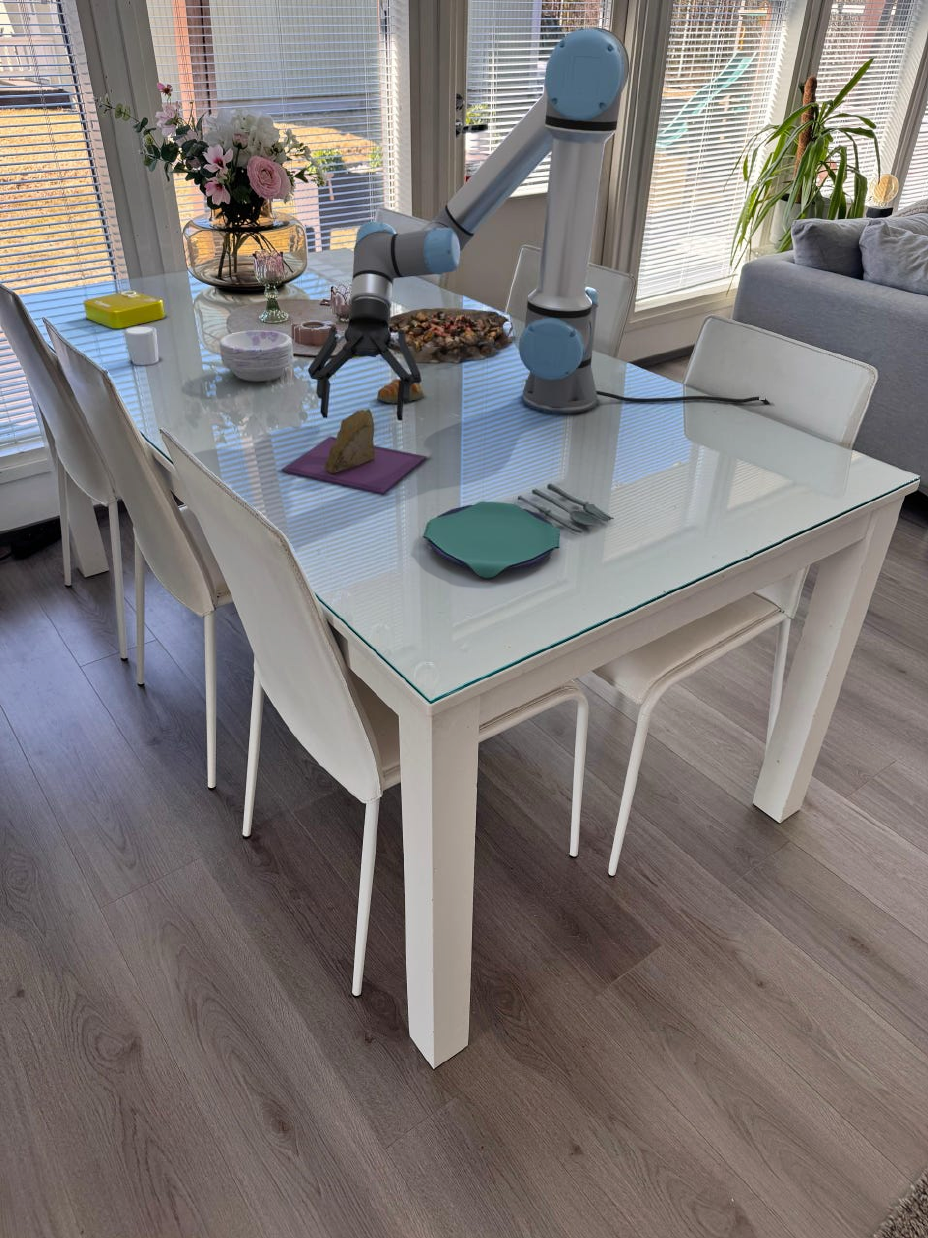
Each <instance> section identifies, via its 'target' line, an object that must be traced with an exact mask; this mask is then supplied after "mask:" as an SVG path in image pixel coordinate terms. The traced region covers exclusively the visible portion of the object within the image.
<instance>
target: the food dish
mask: <svg viewBox="0 0 928 1238" xmlns="http://www.w3.org/2000/svg"><path fill="white" fill-rule="evenodd" d="M507 322H508V323H510V325H511V327H510V328H509V331H508V332H507V334H506V331H505V329H504V325H505V324H506V323H507ZM400 329H403V330H404V331H405V335H406V343H407V345H408V348H409V350H410V352H411V354H412V356H413V359H414V361H415V363H431V364H432V363H433V364H434V363H440V362H447V363H448V362H449V363H461V362H464V361H465V362H466V361H480V360H483V359H485V358H491V357H493V356H494V355H497V353H498V352H499V351H500V350H502V349H505V348H507V347H508V346H509V344H511V343H513V340H514V336H511V337H509V336H510V335H511V334H512V332H513V329H514V324H513V323H512V322H511V321H510V320H509V318H507V317H506V316H505V315H502V314H499V313H498V312H497V311H493V310H482V309H481V310H480V309H478V310H477V309H471V308H459V307H450V308H445V307H437V308H436V307H435V308H420V309H413V310H409V311H407V312H402V313H398V314H394V315H392V316H390V329H389V331H390V333H396V332H398V331H399V330H400ZM387 347H388V348H389V349H391V350H393V351H395V352H396V353H398V354H402V352H401V348H400V345H399V346H398V345H396V344H395V341H393V340H391V342H390V343H389V344H388V345H387Z"/></svg>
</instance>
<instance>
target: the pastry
mask: <svg viewBox="0 0 928 1238" xmlns="http://www.w3.org/2000/svg"><path fill="white" fill-rule="evenodd" d="M399 380H401V379H400V378H397V379H396V378H395V379H393V380H391V382H389V383H388V384H385V385H384V386H383V387H381V388H380V389H379V390H377V399H378V400H380V401H382V402H385V403H389V404H397V401H398V388H399ZM423 396H424V390H423V386H422V384H421V382H420V383H414V384H412V385H411V390H410V400H409V402H412V401H413V400H414V401H417V400H420V399H421V398H422V397H423Z"/></svg>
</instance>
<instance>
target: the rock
mask: <svg viewBox="0 0 928 1238" xmlns="http://www.w3.org/2000/svg"><path fill="white" fill-rule="evenodd" d="M374 421H375V420H374V416H373V413H372V412H371V410H370V409H366V410H364V409H361V410H357V411H355V412H353V413H352V414H351V415H348V416H347V417H345V418H344V419H342V420H341V422H340V428H339V431H338V432H337V435H336V437H335V438H336V441H335V443H334V444H333V445H332V447H331V449H330V452H329V456H328V459H327V461H326V466H325V469H326V470H327V471H329V472H330V473H336V472H339V471H342V470H346V469H349V468H350V467H353V466H358V465H360V464H363V463H365V462H367V461H370V460H373V459H374V458H375V448H374V446H375V443H374V437H375V422H374Z"/></svg>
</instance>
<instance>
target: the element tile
mask: <svg viewBox="0 0 928 1238" xmlns="http://www.w3.org/2000/svg"><path fill="white" fill-rule="evenodd" d="M82 304H83V307H84V311H85V316H86V319H88V321H89V320H90V321H92V322H94V323H98V324H100V325H102V326H105V327H108V328H111V329H115V330H119V329H127V328H130V327H135V326H139V325H143V324H146V323H151V322H155V321H159V320H163V319H164V318H165V316H166V315H165V309H164V303H163V300H162V299H160V298H157V297H153V296H150V295H149V294H144V293H141V292H140V291H139V292H138V291H136V290H125V291H122V292H117V293H112V294H107V295H102V296H98V297H93V298H88V299H85V300H84V301H83V303H82Z"/></svg>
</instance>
